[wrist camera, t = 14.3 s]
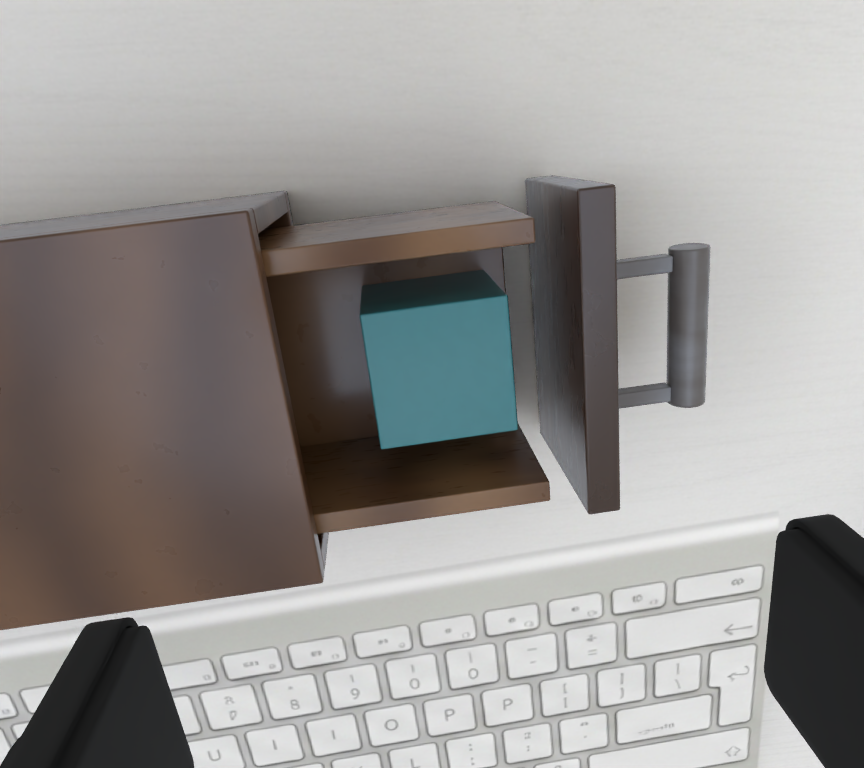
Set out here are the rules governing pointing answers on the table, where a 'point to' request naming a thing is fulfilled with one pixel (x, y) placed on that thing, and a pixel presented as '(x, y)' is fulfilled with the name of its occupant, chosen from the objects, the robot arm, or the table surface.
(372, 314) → the block
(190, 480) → the cabinet
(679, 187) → the table surface
